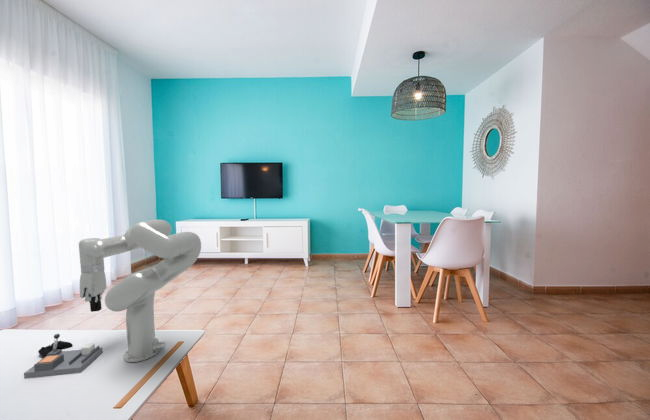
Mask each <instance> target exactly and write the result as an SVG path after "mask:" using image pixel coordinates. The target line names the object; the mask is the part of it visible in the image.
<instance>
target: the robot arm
mask: <svg viewBox="0 0 650 420" xmlns="http://www.w3.org/2000/svg"><path fill="white" fill-rule="evenodd" d="M140 248H141V249H144V250H145V251H147V252H149V253H150V254H152V255H154V256H156V257H158V258H161V259H163V260H161V261H159V263H156V264H155V265H153V266H152V265H151V266H149V267H146V268H143V269H141V270H137V271H136V272H133V273H131V274H129V275H128V276H126V277H124V278H123V279H122V280H120V281H119V282H117V283H116V284H115V285H114V286H112V287H111V288H110V289H108V291H107V292H106V294H105V296H104V303H105V307H107V309H109V310H110V311H112V312H122V311H123V312H124V311H125V310H126V313H125V325H126V327H125V328H126V341H127V350H126V352H124V354H123V360H124V361H125V362H126V363H137V362H143V361H146V360H148V359H150V358H153V357H154V356H155V355H157V354H158V353H159V352H160V350H164V349H166V347H167V344H166V341H159V338H158V337H156V330H155V329H156V328H155V326H156V325H155V308H154V305H155V304H154V301H155V294H156V292H157V291H159V290H160V289H163V287H165V286H166V285H167V284H169V283H170V282H172V281H173V280H175V279H176V278H177V277H178V276H179V275H181V274H182V273H184V272H186V271H187V270H188V269H190V267H192V266H193V265H194V264H195V262H196V261H197V260H198V258H199V256H200V255H201V250H202V242H201V238H200V236H199V235H198V234H196V233H195V232H191V231H183V232H178V233H173V234H172V226H171V224H170V222H168V221H166V220H164V219H151V220H145V221H139V222H137V223H135V224H134V225H132V227H131V228H128V229H127V230H126V231H125V233H124V234H121V235H118V236H112V237H107V238H98V237H93V238H91V237H90V238H85V239H81V240H80V241H79V242H78V252H79V263H80V277H79V278H80V279H79V297H80V298H81V299H84V301H85V302H88V303H89V308H90V312H92V313H93V312H99V311H101V310H102V309H103V308H102V299H103V296H102V295H103V294H104V293H105V290H107V277H106V272H105V259H104V258H109V257H111V256H115V255H120V254H124V253H126V252H130V251H133V250H136V249H140Z"/></svg>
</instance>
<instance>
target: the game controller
mask: <svg viewBox="0 0 650 420" xmlns="http://www.w3.org/2000/svg"><path fill="white" fill-rule="evenodd" d="M73 345H74V344H73V343H72V342H68V341H63V340H58V342H57V348H56V350H59V349H60V347H62V348H63V347H64V348H66V349H67V348H69V349H70V348H73ZM53 346H54V342H53V343H51V344H49V345H47V346H42V347H40V349H38V351H37V352H38V354H39V355H40V356H41V357H42V358H44V357H46V356H47V354H48V353H50V352H51V351H52V350H53Z"/></svg>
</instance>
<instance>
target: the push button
mask: <svg viewBox="0 0 650 420" xmlns="http://www.w3.org/2000/svg"><path fill="white" fill-rule="evenodd" d="M58 357H59V355H56V356H47V357H46V358H44V357H43V358H44V359H43V358H42V359H43V360H42V359H41V360H42V361H40V360H39V361H40V362H39V361H38V362H39V363H38V364H41V363H51V362H53V361H54V360H55V359H57V358H58Z"/></svg>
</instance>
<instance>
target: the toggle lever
mask: <svg viewBox="0 0 650 420" xmlns="http://www.w3.org/2000/svg"><path fill="white" fill-rule="evenodd" d="M60 336H61V335H60V333H56V334H54V335H53V338H54V340H53V343H54V346H53V351H55V350H56V348H57V342H58V341H59V338H60Z"/></svg>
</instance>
